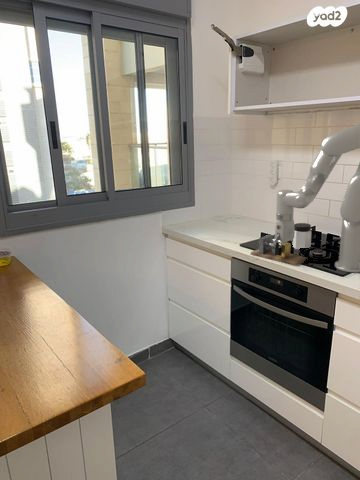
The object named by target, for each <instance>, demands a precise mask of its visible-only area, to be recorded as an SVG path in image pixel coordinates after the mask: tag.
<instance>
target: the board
mask: <svg viewBox="0 0 360 480" xmlns="http://www.w3.org/2000/svg"><path fill="white" fill-rule="evenodd" d="M250 255H251V256H255V257H259V258H263V259H267V260H271V261H275V262H279V263H282V264H287V265H291V266H294V267H297V266H299V265H301V264H303V263H305V262H306V261H305V260H306V259H307V260H308V257H306V256H302V255H297V254H293V253H290V255H289V256H287V257H285V258H283V257H278V256H277V255H276V256H275V255H272V251H270V252H268V253H266V254H259V248H258V249H255V250H253V251H251V252H250ZM304 261H305V262H304Z"/></svg>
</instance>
